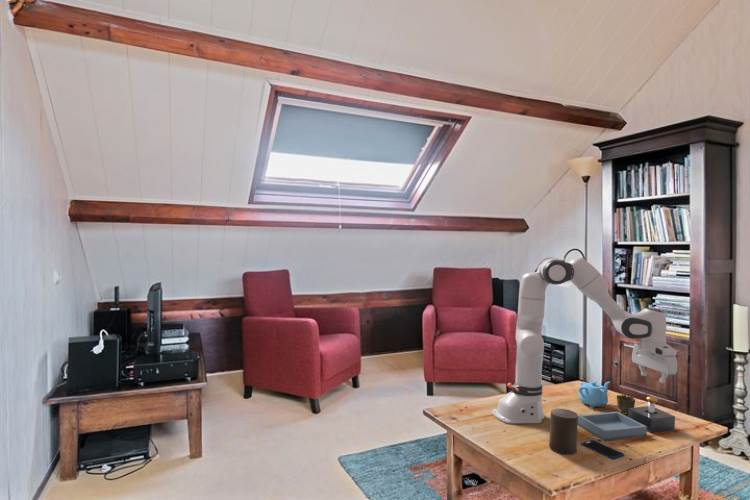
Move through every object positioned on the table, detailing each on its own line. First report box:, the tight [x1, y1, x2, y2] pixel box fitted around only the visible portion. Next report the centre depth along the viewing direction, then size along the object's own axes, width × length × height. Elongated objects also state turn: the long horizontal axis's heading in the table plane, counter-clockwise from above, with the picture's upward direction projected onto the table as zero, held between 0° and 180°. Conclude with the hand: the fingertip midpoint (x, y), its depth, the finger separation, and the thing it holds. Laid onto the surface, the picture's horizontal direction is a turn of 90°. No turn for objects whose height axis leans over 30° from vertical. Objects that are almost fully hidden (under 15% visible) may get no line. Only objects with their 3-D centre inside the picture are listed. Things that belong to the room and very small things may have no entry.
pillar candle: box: [548, 408, 579, 455], centre depth 176 cm, size 10×10×15 cm
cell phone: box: [580, 439, 625, 460], centre depth 176 cm, size 7×14×1 cm, turn 28°
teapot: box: [578, 381, 611, 409], centre depth 223 cm, size 13×14×11 cm
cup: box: [616, 394, 636, 417], centre depth 210 cm, size 8×7×8 cm
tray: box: [578, 411, 648, 442], centre depth 193 cm, size 20×16×4 cm
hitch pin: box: [645, 395, 658, 414], centre depth 198 cm, size 4×4×12 cm
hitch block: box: [627, 405, 676, 434], centre depth 198 cm, size 12×12×6 cm
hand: (652, 379), depth 197 cm, fingers open, 8 cm apart
